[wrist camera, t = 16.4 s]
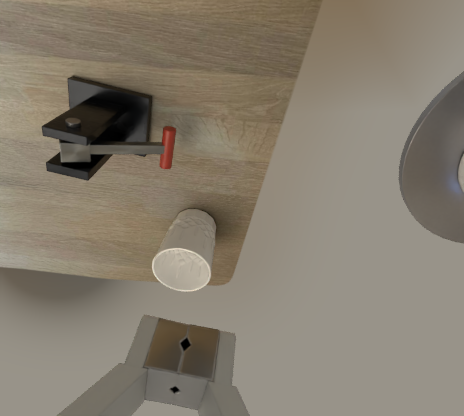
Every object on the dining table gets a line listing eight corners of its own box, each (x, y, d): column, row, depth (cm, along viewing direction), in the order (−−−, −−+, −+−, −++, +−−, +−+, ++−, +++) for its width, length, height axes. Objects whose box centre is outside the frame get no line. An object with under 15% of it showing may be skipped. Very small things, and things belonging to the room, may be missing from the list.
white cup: (216, 248, 54) (207, 296, 45) (169, 240, 53) (151, 286, 45) (223, 210, 49) (214, 254, 41) (172, 200, 49) (152, 243, 41)
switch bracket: (152, 95, 41) (115, 129, 31) (147, 153, 45) (114, 198, 35) (72, 76, 40) (9, 103, 30) (75, 136, 45) (21, 177, 35)
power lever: (173, 124, 39) (178, 133, 37) (168, 161, 41) (173, 171, 40) (57, 119, 33) (58, 129, 31) (61, 162, 36) (61, 174, 34)
